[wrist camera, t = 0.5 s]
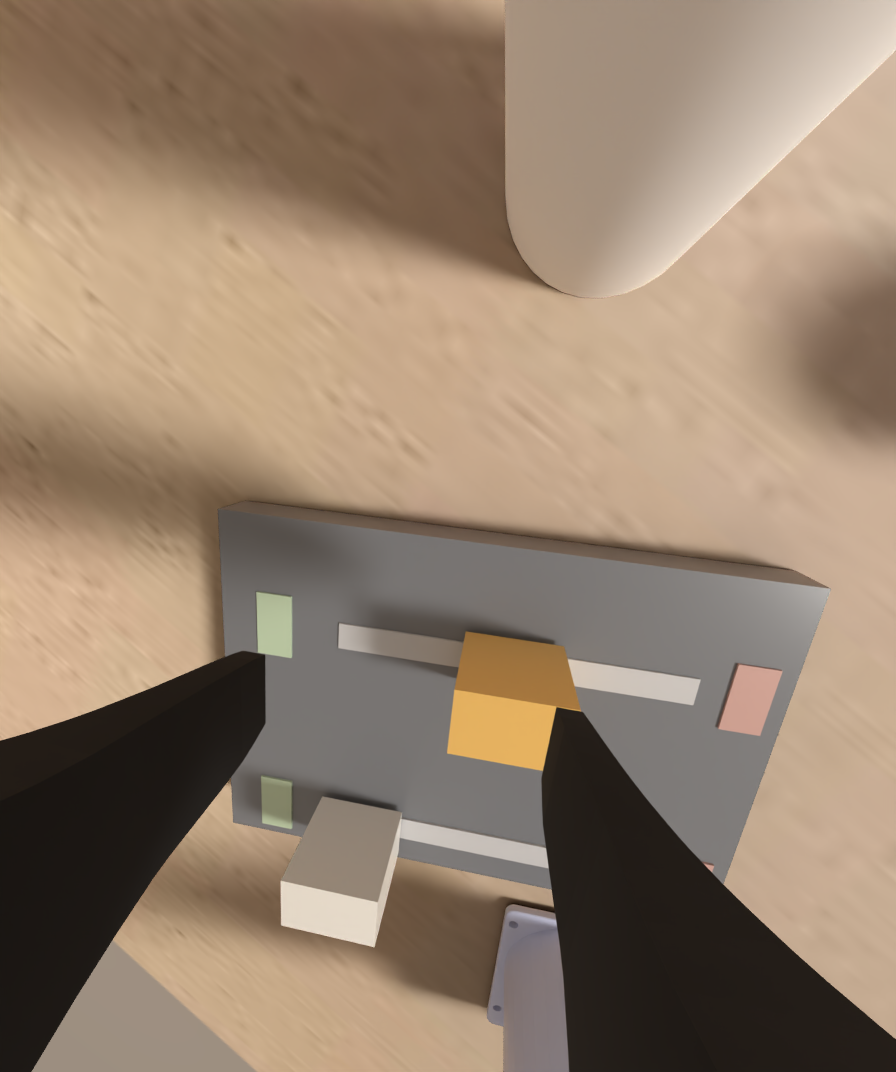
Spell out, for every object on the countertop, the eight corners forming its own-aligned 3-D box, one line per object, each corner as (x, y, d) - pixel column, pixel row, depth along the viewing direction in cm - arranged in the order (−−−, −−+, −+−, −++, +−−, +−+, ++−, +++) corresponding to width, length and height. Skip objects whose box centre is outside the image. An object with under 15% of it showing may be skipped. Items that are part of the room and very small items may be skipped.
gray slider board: (691, 879, 22) (710, 924, 20) (254, 791, 24) (231, 824, 22) (795, 570, 17) (832, 590, 15) (245, 500, 20) (216, 509, 18)
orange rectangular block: (554, 699, 18) (567, 775, 14) (459, 683, 18) (447, 753, 14) (564, 646, 17) (580, 710, 13) (465, 631, 17) (454, 689, 14)
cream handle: (398, 851, 21) (374, 947, 17) (321, 835, 21) (280, 925, 18) (401, 812, 20) (377, 902, 17) (322, 796, 21) (280, 880, 17)
